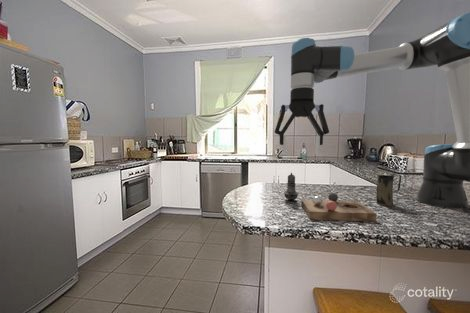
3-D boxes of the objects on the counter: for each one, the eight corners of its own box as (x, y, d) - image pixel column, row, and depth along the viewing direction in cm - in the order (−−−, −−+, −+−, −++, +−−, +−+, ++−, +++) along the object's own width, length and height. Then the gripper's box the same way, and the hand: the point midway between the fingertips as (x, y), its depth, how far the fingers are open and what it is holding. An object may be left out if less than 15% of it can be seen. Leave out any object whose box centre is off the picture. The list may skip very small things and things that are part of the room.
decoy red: (334, 209, 73) (335, 199, 73) (338, 212, 70) (338, 202, 70) (324, 208, 74) (324, 199, 74) (327, 212, 71) (327, 202, 70)
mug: (379, 205, 86) (381, 174, 85) (373, 201, 91) (374, 172, 90) (402, 206, 84) (404, 175, 83) (395, 202, 90) (396, 173, 89)
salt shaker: (299, 204, 88) (299, 173, 87) (283, 203, 89) (284, 173, 88) (297, 200, 94) (298, 171, 93) (283, 199, 95) (283, 171, 94)
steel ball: (320, 204, 79) (320, 195, 79) (323, 206, 76) (323, 197, 76) (311, 203, 80) (311, 195, 79) (313, 206, 76) (313, 197, 76)
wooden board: (356, 207, 83) (356, 201, 83) (376, 221, 69) (376, 213, 69) (301, 206, 85) (301, 199, 85) (309, 219, 71) (309, 211, 71)
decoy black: (335, 200, 84) (336, 192, 84) (339, 202, 81) (339, 194, 81) (327, 200, 84) (327, 191, 84) (329, 202, 81) (330, 193, 81)
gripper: (333, 90, 78) (331, 154, 80) (267, 92, 80) (266, 153, 82) (341, 85, 71) (339, 155, 72) (268, 87, 73) (267, 155, 75)
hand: (300, 154), depth 77 cm, fingers open, 10 cm apart
